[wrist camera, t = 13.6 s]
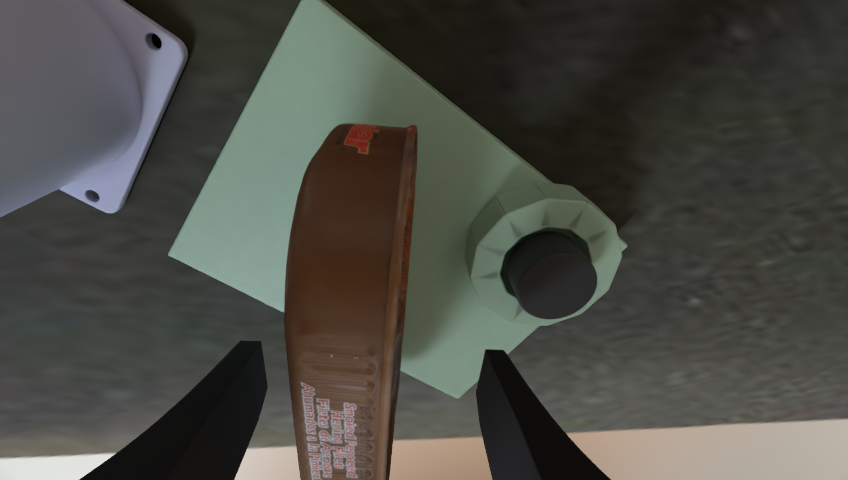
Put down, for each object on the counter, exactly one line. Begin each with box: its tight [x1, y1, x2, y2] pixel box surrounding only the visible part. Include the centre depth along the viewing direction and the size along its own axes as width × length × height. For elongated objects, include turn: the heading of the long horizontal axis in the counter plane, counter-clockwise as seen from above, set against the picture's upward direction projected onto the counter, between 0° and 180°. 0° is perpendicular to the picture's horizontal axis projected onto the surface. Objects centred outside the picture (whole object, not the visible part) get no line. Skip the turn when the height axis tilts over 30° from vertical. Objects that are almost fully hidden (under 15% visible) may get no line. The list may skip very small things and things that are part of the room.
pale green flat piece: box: [168, 0, 627, 399], centre depth 17 cm, size 16×12×3 cm
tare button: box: [507, 232, 597, 319], centre depth 15 cm, size 3×3×2 cm
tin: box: [284, 123, 418, 480], centre depth 14 cm, size 15×3×8 cm, turn 175°
